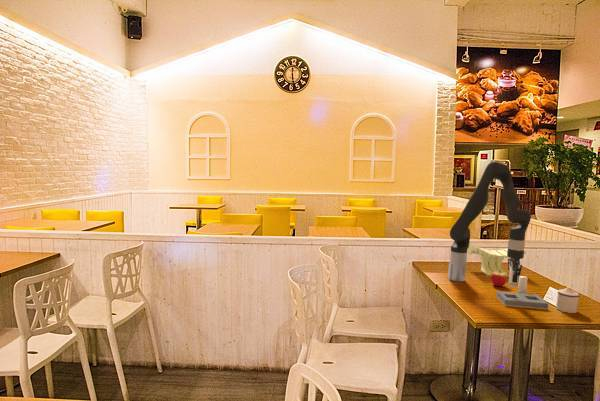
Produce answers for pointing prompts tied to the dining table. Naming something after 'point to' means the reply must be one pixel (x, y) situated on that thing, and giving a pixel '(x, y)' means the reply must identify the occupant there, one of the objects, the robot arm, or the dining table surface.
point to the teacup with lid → (567, 300)
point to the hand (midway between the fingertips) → (513, 280)
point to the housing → (522, 300)
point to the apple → (498, 278)
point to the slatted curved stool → (490, 259)
